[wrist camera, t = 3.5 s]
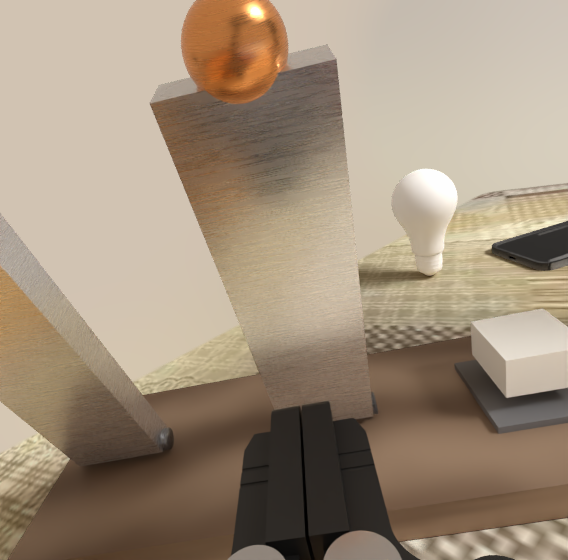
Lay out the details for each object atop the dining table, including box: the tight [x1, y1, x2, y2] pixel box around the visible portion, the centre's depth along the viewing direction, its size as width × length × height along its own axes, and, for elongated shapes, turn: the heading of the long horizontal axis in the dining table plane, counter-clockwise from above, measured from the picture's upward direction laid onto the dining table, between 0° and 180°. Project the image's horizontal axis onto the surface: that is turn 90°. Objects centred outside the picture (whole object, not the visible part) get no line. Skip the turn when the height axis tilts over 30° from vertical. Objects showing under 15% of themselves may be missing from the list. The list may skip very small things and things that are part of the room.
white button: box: [471, 309, 568, 398], centre depth 22 cm, size 4×4×3 cm
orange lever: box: [150, 0, 378, 421], centre depth 17 cm, size 3×6×21 cm, turn 90°
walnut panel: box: [8, 336, 568, 560], centre depth 24 cm, size 12×32×2 cm, turn 90°
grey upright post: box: [0, 214, 174, 466], centre depth 18 cm, size 3×6×21 cm, turn 90°
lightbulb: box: [392, 169, 457, 276], centre depth 41 cm, size 6×6×11 cm
